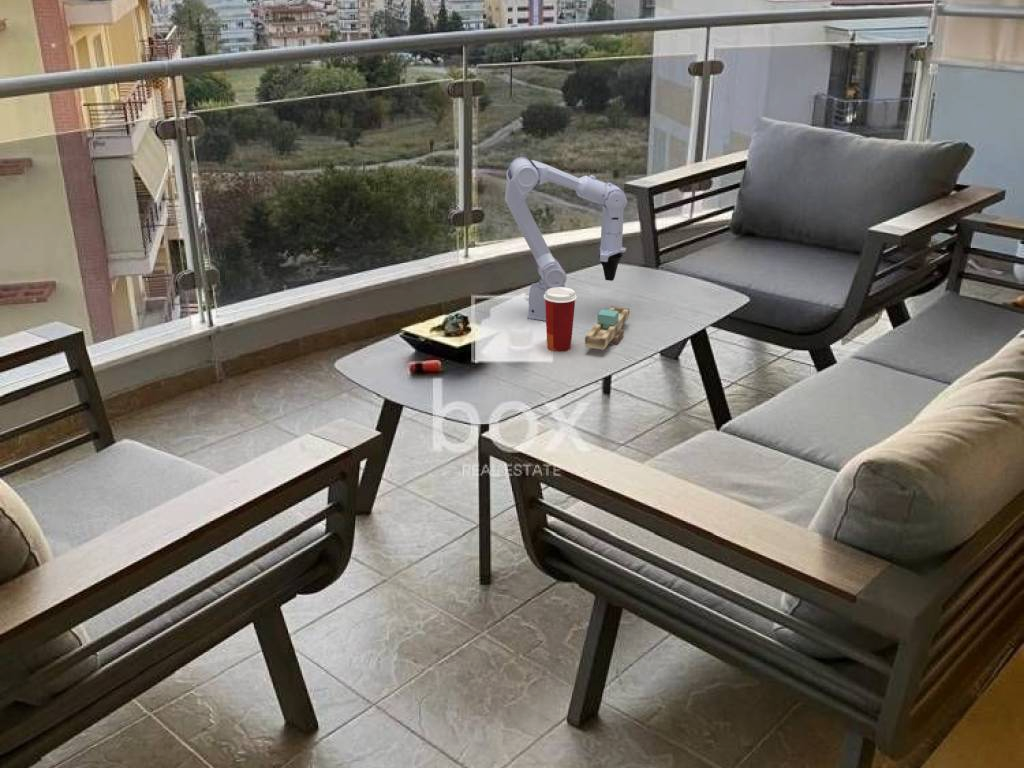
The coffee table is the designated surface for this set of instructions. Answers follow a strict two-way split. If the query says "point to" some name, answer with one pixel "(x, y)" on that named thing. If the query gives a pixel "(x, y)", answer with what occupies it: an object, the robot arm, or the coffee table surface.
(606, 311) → the teal cube
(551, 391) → the coffee table surface
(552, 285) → the robot arm
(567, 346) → the coffee cup
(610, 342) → the tan wooden slatted block
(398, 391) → the coffee table surface
